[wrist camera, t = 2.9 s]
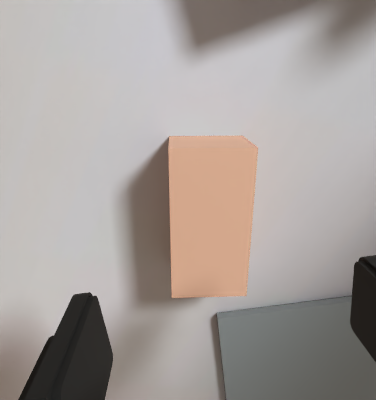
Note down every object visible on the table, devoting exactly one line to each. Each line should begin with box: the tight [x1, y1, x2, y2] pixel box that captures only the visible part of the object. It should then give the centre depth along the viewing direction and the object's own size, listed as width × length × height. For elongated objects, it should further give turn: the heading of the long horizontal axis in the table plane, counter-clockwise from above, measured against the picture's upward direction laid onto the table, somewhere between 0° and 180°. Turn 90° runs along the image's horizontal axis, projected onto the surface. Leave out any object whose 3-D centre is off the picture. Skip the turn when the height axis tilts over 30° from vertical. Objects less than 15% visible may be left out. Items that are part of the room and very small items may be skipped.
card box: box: [168, 136, 258, 298], centre depth 19 cm, size 4×9×4 cm, turn 0°
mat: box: [217, 296, 376, 400], centre depth 26 cm, size 20×14×1 cm
